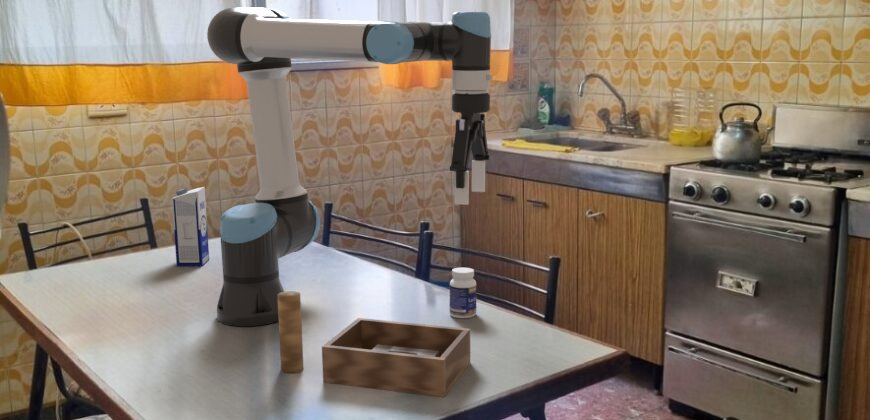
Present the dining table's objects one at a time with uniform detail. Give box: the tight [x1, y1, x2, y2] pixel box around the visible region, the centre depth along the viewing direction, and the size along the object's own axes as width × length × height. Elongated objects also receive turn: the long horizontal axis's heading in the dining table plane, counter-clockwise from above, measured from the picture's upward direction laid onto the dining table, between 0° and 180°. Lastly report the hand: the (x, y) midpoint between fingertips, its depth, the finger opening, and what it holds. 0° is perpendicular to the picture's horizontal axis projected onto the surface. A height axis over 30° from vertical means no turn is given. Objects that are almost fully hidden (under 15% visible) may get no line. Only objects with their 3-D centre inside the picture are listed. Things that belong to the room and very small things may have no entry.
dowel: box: [277, 290, 304, 374], centre depth 158 cm, size 4×4×14 cm
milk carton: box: [171, 186, 210, 268], centre depth 231 cm, size 7×7×20 cm
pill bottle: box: [449, 267, 477, 319], centre depth 188 cm, size 6×6×10 cm
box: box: [321, 317, 471, 398], centre depth 157 cm, size 22×16×6 cm
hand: (470, 197), depth 179 cm, fingers open, 13 cm apart
